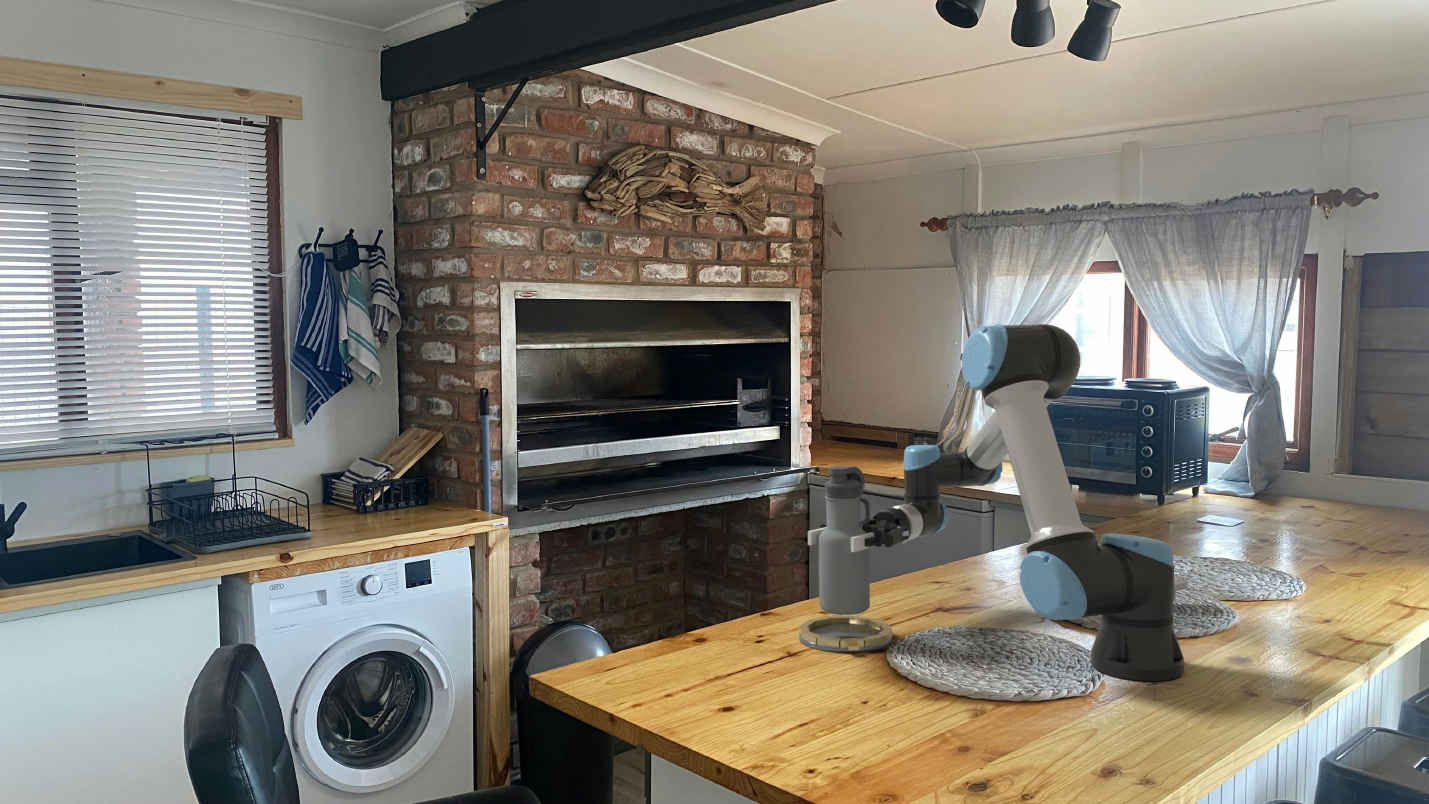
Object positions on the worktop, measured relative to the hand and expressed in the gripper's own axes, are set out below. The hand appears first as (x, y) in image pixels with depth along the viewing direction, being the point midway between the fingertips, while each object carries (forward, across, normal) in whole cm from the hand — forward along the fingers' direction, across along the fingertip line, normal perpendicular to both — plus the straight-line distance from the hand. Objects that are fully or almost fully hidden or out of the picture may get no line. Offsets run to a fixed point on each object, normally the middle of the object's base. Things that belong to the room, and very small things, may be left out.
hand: (830, 541), depth 195 cm
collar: (-4, 0, -20) cm, 20 cm away
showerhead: (-65, -38, -20) cm, 78 cm away
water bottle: (-4, 0, -14) cm, 15 cm away
